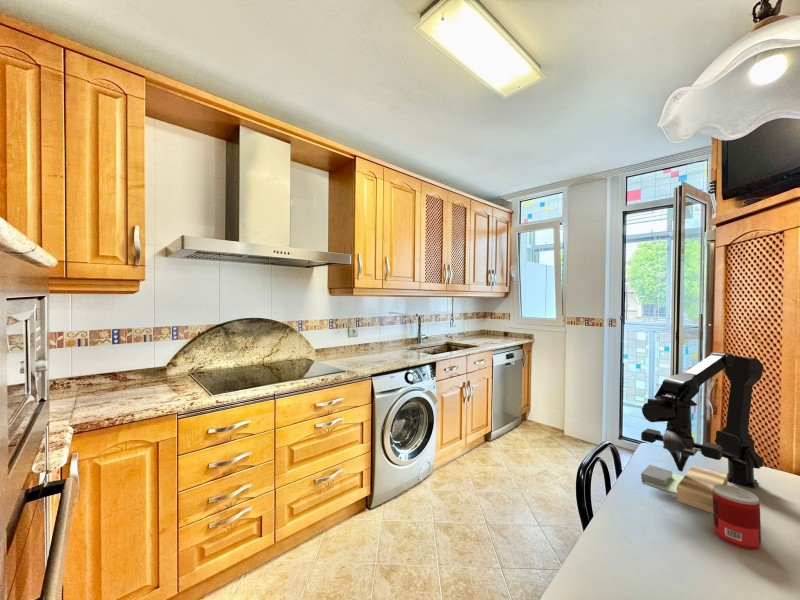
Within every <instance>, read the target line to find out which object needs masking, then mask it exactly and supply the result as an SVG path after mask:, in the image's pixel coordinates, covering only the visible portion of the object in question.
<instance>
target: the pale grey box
mask: <svg viewBox="0 0 800 600" xmlns="http://www.w3.org/2000/svg"><path fill="white" fill-rule="evenodd" d="M672 473H673V471H672V470H668V469H665V468H662V467H659V466H655V465H652V464H649V465H648V466H646V468H645V469H643V470H642V472H641V473H640V474H641V475H640V477H641V479H640V480H641V481H647V482H650V483H653V484H656V485H659V486H662V487H665V486H666V485H667V484H668V483H669V481H670V480H671V479H672Z"/></svg>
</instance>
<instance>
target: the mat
mask: <svg viewBox="0 0 800 600" xmlns="http://www.w3.org/2000/svg"><path fill="white" fill-rule="evenodd" d="M684 476H685V475H684ZM684 476H683V475H679V474H677V473H674V472H672V479H671V480H670V481H669V483H668V484H667V485H666V486H665V487H662V486H659V485H656V484H653V483H650V482H647V481H644V480H643V481H644V482H643V484H646V485H650V486H652V487H655V488H658V489H660V490H664V491H667V492H669V493H672V494H674V495H677V485H678V484H679V483H680V481H681V480H682V479H683V478H684Z"/></svg>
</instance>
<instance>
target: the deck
mask: <svg viewBox="0 0 800 600" xmlns="http://www.w3.org/2000/svg"><path fill="white" fill-rule="evenodd" d="M718 484H722V485H728V481H727V474H725V473H722V472H718V471H713V470H710V469H708V468H703V467H700V466H696V465H691V467H690V468H689V469H688V470H687V472H686V474H685V475H684V478H683V479H682V480H681V481H680V483H679V484H678V485H677V494H676V501H677V502H680V503H682V504H686V505H687V506H688V505H689V506H692V507H695V508H697V509H699V510H700V509H701V510H703V511H706V512H708V513H712V514H713V486H714V485H718Z"/></svg>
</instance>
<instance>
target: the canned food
mask: <svg viewBox="0 0 800 600" xmlns="http://www.w3.org/2000/svg"><path fill="white" fill-rule="evenodd" d="M760 505H761V502H760V498H759V497H758V496H757V495H756V494H755V493H753V492H751V491H748V490H746V489H744V488H740V487H737V486H733V485H722V484H718V485H714V486H713V513H712V515H713V517H712V518H713V529H714V532H715V534H716V536H717V537H719V539H721V540H722V541H724V542H726V543H728V544H729V545H732V546H735V547H738V548H741V549H744V550H752V551H754V550H758V549H760V547H761V545H762V531H761V530H762V528H761V506H760Z"/></svg>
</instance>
